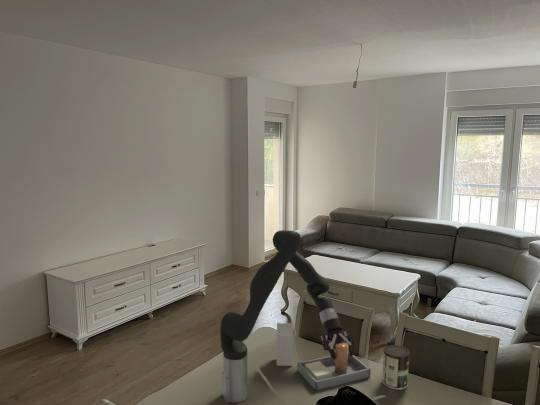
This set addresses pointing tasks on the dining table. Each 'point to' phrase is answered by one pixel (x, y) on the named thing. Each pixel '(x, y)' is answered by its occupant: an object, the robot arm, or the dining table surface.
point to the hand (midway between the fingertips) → (343, 357)
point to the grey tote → (354, 373)
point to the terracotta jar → (341, 358)
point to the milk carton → (284, 344)
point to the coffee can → (395, 367)
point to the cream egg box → (318, 370)
